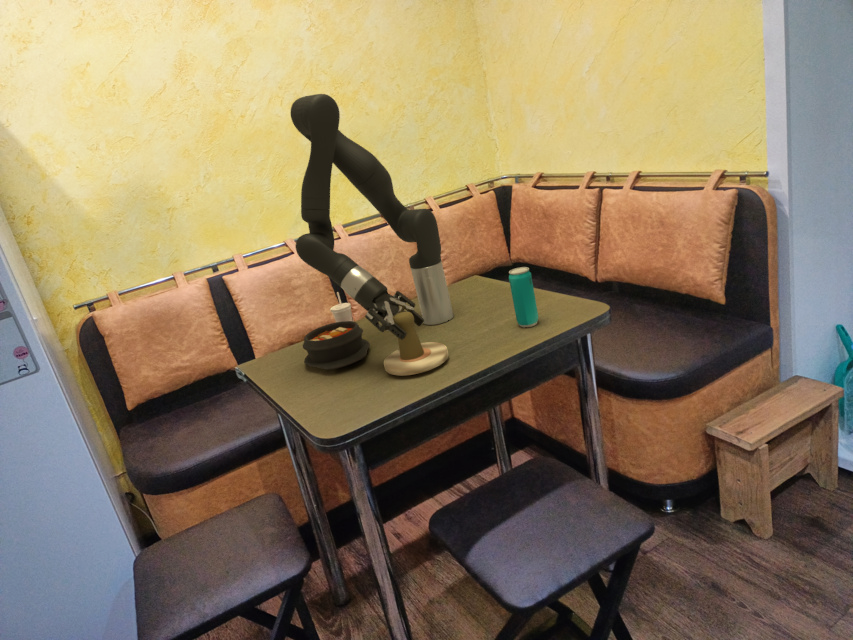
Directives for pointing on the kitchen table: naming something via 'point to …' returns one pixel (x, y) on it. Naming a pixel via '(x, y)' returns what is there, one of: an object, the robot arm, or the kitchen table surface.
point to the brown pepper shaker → (408, 337)
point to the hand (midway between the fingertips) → (413, 330)
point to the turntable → (417, 360)
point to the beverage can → (523, 296)
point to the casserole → (335, 345)
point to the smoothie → (342, 311)
